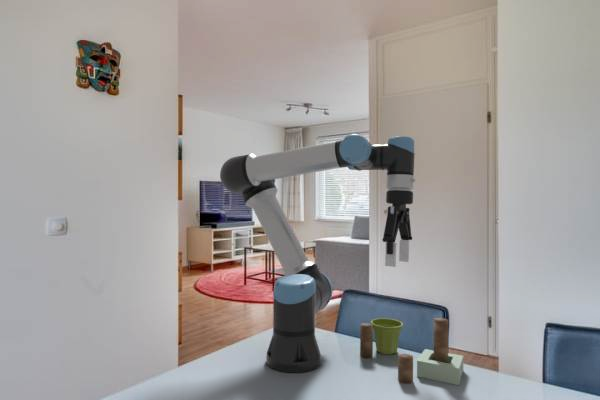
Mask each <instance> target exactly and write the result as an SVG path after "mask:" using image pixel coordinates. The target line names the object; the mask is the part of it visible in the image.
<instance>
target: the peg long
mask: <svg viewBox="0 0 600 400" xmlns="http://www.w3.org/2000/svg"><path fill="white" fill-rule="evenodd" d="M433 351H434V361H439V362H444V363H448V353H449V320H448V319H447V318H443V317H435V318H433Z"/></svg>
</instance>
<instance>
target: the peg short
mask: <svg viewBox="0 0 600 400" xmlns="http://www.w3.org/2000/svg"><path fill="white" fill-rule="evenodd" d="M397 356H398V358H397V360H398V361H397V365H398V366H397V381H398V382H400V383H402V384H406V385H407V384H408V385H410V384H413V382H414V356H413V355H411V354H410V353H399V354H398V355H397Z"/></svg>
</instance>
